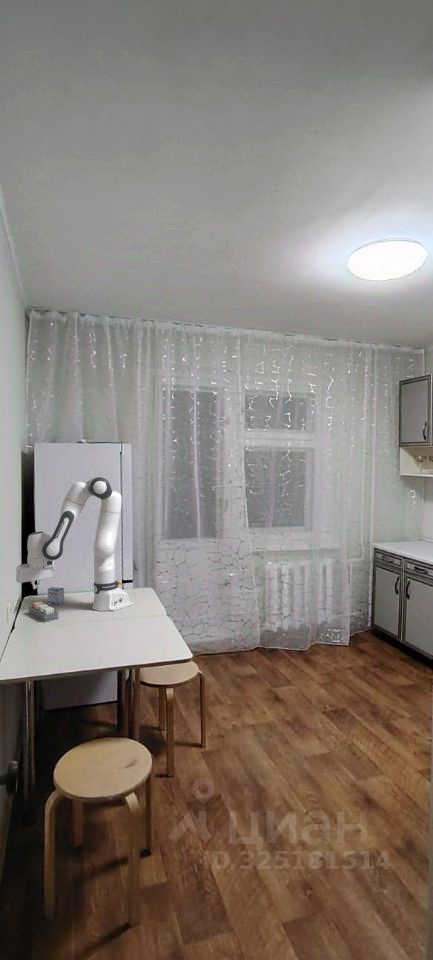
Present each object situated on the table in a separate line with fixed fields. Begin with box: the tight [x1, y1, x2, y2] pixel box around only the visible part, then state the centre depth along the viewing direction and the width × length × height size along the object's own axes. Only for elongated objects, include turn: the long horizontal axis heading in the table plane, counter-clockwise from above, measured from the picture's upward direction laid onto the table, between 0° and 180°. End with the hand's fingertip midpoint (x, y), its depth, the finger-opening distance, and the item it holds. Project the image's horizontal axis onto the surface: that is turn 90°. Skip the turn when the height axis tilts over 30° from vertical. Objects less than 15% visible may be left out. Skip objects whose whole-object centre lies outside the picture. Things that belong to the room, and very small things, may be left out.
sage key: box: [43, 606, 55, 615], centre depth 252 cm, size 4×4×3 cm
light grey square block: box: [38, 603, 50, 612], centre depth 257 cm, size 4×4×3 cm
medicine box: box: [47, 586, 65, 605], centre depth 280 cm, size 8×4×9 cm, turn 73°
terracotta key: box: [32, 601, 44, 609], centre depth 262 cm, size 4×4×3 cm
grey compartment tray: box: [28, 605, 59, 623], centre depth 257 cm, size 7×20×4 cm, turn 42°
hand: (36, 588), depth 261 cm, fingers closed
